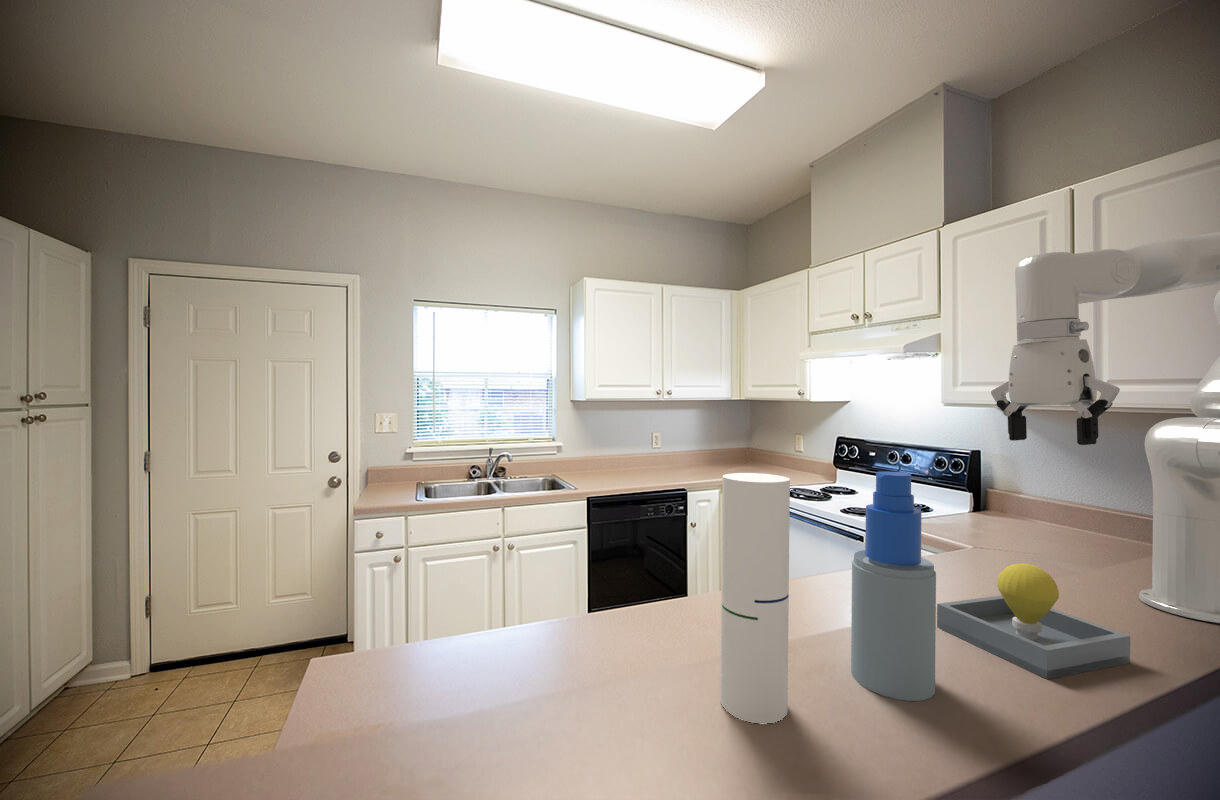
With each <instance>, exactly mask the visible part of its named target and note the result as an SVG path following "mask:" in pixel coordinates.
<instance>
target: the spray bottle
mask: <svg viewBox="0 0 1220 800" xmlns="http://www.w3.org/2000/svg"><path fill="white" fill-rule="evenodd" d="M864 538H865V543H864V544H865V546H864V547H865V549H864V550H858V551H856V552H854V555H853V560H852V561H851V623H850V624H851V626H850V627H851V631H850V633H851V635H850V636H851V637H850V638H851V639H850V640H851V641H850V642H851V645H850V646H851V647H850V650H851V651H850V673H851V674H852V675H851V676H852V677H853V679H854V680H855V681H856V682H857V683H858V684H859V685H860V686H862V687H863V688H865V689H867V690H869V691H871V692H874V693H876V694H878V695H881V696H883V697H887V698H891V699H895V700H899V701H907V702H919V701H923V702H924V701H925V700H928V699H931V698H933V696H934V695H935V694H936V634H937V633H936V630H937V629H936V627H937V616H936V615H937V572H936V571H935V564H934V563H933V562H932V561H930V560H929V559H926V558H923V557H922V510H920V509H918V508H915V496H914V494H912V473H911V472H907V471H906V472H905V471H876V472H875V491H873V492H872V504H871V503H870V504H867V505H866V506H865V537H864Z"/></svg>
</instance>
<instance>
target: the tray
mask: <svg viewBox="0 0 1220 800" xmlns="http://www.w3.org/2000/svg"><path fill="white" fill-rule="evenodd" d="M936 615H937V616H936V627H937V629H940V630H942V631H945V632H946V633H949V634H951V635H952V636H955V637H957V638H959V639H961V640H963V641H965V642H967V643H970V644H972V645H974V646H976V647H978V648H980V649H982V650H984V651H986V652H989V653H991V654H993V655H995V656H997V657H999V658H1001V659H1003V660H1005V661H1008V662H1010V663H1011V664H1013V665H1015V666H1018V667H1020V668H1022V669H1023V670H1027V671H1029V672H1030V673H1033V674H1035V675H1037V676H1039V677H1041V678H1043V679H1046V680H1051V679H1055V678H1060V677H1065V676H1066V677H1067V676H1070V675H1074V674H1082V673H1085V672H1090V671H1091V672H1092V671H1095V670H1101V669H1106V668H1110V667H1111V668H1112V667H1115V666H1121V665H1126V664H1131V661H1130V660H1131V635H1129V634H1125V633H1123V632H1120V631H1117V630H1114V629H1112V628H1109V627H1105V626H1104V625H1100V624H1097V623H1094V622H1091V621H1088V620H1086V619H1083V618H1079V617H1077V616H1075V615H1072V614H1068V613H1065V612H1063V611H1060V610H1057V609H1055V608H1053V607H1052V608H1051V609H1050V611H1049V612H1048V613H1047V614H1045V615H1044V616H1043V617H1042V618H1041V619H1040V620H1039V621H1038V622H1040V623H1041V624H1042V631H1041V632H1039V633H1038V639H1036V640H1030V639H1027V638H1025V637H1022V636H1020V635H1017V634H1016V628H1015V627H1014V626H1013V625H1012V618H1013V617H1016V616H1015V615H1014V613H1013V612H1012V611H1011V609H1010V608H1009V606H1008V605H1007V604H1006V602H1005V600H1004V598H1003V596H1002V594H1000V595H996V596H989V597H988V596H987V597H980V598H972V599H963V600H956V601H950V602H941V603H936Z"/></svg>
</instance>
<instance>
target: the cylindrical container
mask: <svg viewBox="0 0 1220 800" xmlns="http://www.w3.org/2000/svg"><path fill="white" fill-rule="evenodd" d="M721 483H722V489H721V490H722V500H721V502H722V503H721V504H722V506H721V507H722V508H721V511H722V512H721V576H720V577H721V584H720V586H721V590H720V591H721V592H720V593H721V595H720V596H721V599H720V602H721V604H720V607H721V608H720V676H719V677H720V679H719V680H720V681H719V682H720V683H719V688H720V692H719V693H720V694H719V695H720V696H719V697H720V698H719V701H721V702H720V704H722V705H721V707H722V706H723V707H724V708H725V709H726V710H727V711H728V712H730V713H731V714H733V715H734V716H736V717H738V718H740V719H743V720H746V721H749V722H753V723H764V724H763V725H766V724H765V723H773V724H776V723H778V722H777V721H779V722H781V721H782V720H784V719H785V718H786V717H787V715H788V709H789V708H788V695H789V693H788V692H789V690H788V689H789V688H788V687H789V679H788V678H789V608H790V607H789V601H790V600H789V599H790V597H789V596H790V595H789V589H790V584H789V583H790V580H789V579H790V504H791V502H790V500H791V499H790V495H791V491H790V490H791V489H790V488H791V487H790V486H791V484H790V483H791V478H790V477H787V476H785V475H784V476H783V475H778V474H771V473H759V472H758V473H757V472H734V473H733V472H732V473H726V474H723V475H722V482H721ZM723 707H722V708H723ZM724 708H723V709H724ZM725 709H724V710H725ZM727 711H726V712H727ZM728 712H727V713H728ZM785 716H786V717H785ZM784 717H785V718H784ZM783 718H784V719H783ZM740 719H739V720H740ZM780 720H781V721H780ZM775 722H776V723H775ZM753 723H752V724H753Z"/></svg>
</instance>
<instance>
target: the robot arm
mask: <svg viewBox="0 0 1220 800" xmlns="http://www.w3.org/2000/svg"><path fill="white" fill-rule="evenodd" d="M1014 279H1015V280H1014V281H1015V282H1014V283H1015V307H1016V311H1015V313H1016V340H1017V342H1016V344H1014V345H1013V348H1012V350H1011V355H1010V362H1009V368H1008V369H1009V371H1008V380H1007V382H1005V383H1002V384H1001V385H999V386H997V387H995V388H993V389H992V390H991V392H990V394H991V396H992V398H993V400H994V402H996V406H997V407H998V409H1000V410H1001V411H1002V413H1003V415H1004V417H1007V433H1008V437H1009V438H1008V439H1009V441H1025V440H1027V439H1028V438H1027V436H1028V433H1027V431H1028V430H1027V429H1028V428H1027V417H1026V415H1023V413H1024V412H1025V411H1026V410H1027V409H1028V408H1029V406H1071V407H1072V408H1073V409H1074V410H1075V411H1076V412H1077V413H1078V414H1079V416H1080V417H1077V419H1076V441H1077V442H1076V443H1077V444H1078V445H1079V446H1087V445H1088V446H1089V445H1096V444H1097V441H1098V440H1097V439H1098V438H1099V418H1101V417H1102V416H1103V414H1104V413H1105V412H1106V411H1107V410H1109V409H1110V408H1111V407H1112V406H1113V402H1114V401H1115V400H1116V398H1117V397H1118V395H1119V394H1120V393H1119V392H1120V391H1121V390H1120V387H1118V386H1116V385H1113V384H1111V383H1108V382H1106V381H1103V380H1101V379H1098V378H1096V373H1095V371H1096V370H1095V366H1094V361H1093V357H1092V352H1091V348H1090V345H1089V343H1088V340H1087V339H1086V338H1085V339H1082V338H1081V339H1080V337H1081V336H1082V334H1081V333H1082V332H1083V331H1088V330H1089V328H1090V324H1089V323H1088V321H1081V319H1080V309H1079V308H1080V307H1079V305H1081V304H1087V303H1095V302H1099V301H1107V300H1116V299H1117V300H1118V299H1124V298H1125V299H1126V298H1138V297H1145V296H1151V295H1157V294H1158V295H1159V294H1166V293H1171V292H1177V291H1182V290H1189V289H1195V288H1202V287H1208V286H1209V287H1210V286H1214V285H1215V286H1216V285H1220V231H1218V232H1211V233H1206V234H1205V233H1204V234H1199V235H1192V236H1185V237H1177V238H1169V239H1163V240H1157V241H1153V242H1150V243H1145V244H1141V245H1137V246H1133V247H1130V248H1129V247H1128V248H1126V249H1124V250H1122V249H1116V248H1105V249H1099V250H1093V251H1091V250H1090V251H1086V252H1079V253H1078V252H1077V253H1072V252H1065V251H1055V252H1045V253H1040V254H1035V255H1031V256H1027V257H1025V258H1024V259H1021V260H1019V261H1018V262H1017V264H1016V266H1015V269H1014ZM1217 291H1218V292H1216V294H1215V297H1214V300H1213V301H1214V302H1213V310H1214V313H1215V316H1216V319H1217V322H1218V324H1219V325H1220V289H1219V290H1217ZM1098 392H1099V393H1100V395H1099V398H1098V399H1097V393H1098ZM1007 394H1008V396H1009V400H1008V398H1007ZM1189 406H1190V407H1189V408H1190V410H1191V411H1192V413H1193V414H1194V415H1195V416H1196V417H1195V416H1191V417H1190V416H1187V417H1185V416H1183V417H1175V418H1169V419H1165V420H1161V421H1160V422H1157V423H1155V424H1154V425H1153V426H1152V427H1150V428H1149V429H1148V431H1147V432H1146V434H1145V438H1144V451H1145V455H1146V458H1147V462H1148V463H1147V464H1148V465H1149V470H1150V474H1151V485H1152V563H1151V564H1152V566H1151V567H1152V568H1151V569H1152V570H1151V571H1152V579H1151V581H1152V582H1151V583H1152V584H1151V585H1152V586H1151V588H1147V589H1141V591H1139V593H1138V594H1139V595H1138V596H1139V597H1138V598H1139V599H1140V601H1142V603H1144V604H1146V605H1148V606H1150V607H1152V608H1155V609H1158V610H1160V611H1163V612H1166V613H1169V614H1174V615H1177V616H1181V617H1184V618H1189V619H1194V620H1198V621H1204V622H1210V623H1214V624H1220V354H1219V355H1218V356H1217V358H1216V359H1215V360H1214V362H1213V364H1212V365H1211V367H1209V369H1208V370H1207V372H1206V373H1205V374H1204V376H1203V377H1202V379H1200V381H1199V382H1198V384H1197V385H1196V388H1194V390H1193V392H1192V394H1191V397H1190V399H1189Z"/></svg>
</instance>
